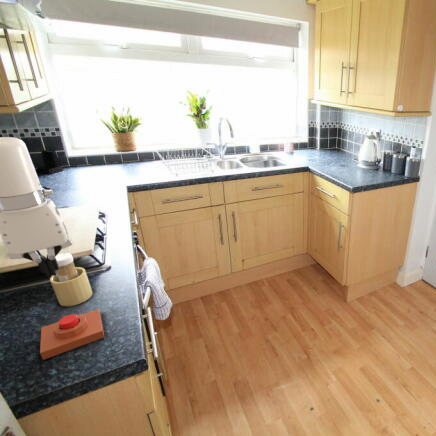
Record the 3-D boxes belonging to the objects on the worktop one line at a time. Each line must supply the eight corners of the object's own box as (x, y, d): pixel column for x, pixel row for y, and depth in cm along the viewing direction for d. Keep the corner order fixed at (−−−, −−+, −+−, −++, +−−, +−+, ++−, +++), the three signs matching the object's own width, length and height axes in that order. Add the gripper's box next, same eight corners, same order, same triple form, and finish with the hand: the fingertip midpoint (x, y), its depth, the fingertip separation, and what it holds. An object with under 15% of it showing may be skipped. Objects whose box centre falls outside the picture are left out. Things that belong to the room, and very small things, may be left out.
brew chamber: (59, 310, 89) (49, 286, 86) (59, 295, 95) (50, 272, 91) (93, 299, 94) (86, 276, 90) (91, 285, 99) (84, 264, 96)
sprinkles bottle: (87, 294, 94) (74, 255, 89) (70, 302, 91) (54, 262, 85) (80, 289, 97) (67, 250, 91) (63, 297, 93) (47, 257, 88)
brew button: (60, 332, 77) (58, 326, 76) (60, 323, 79) (58, 318, 79) (79, 325, 79) (77, 320, 78) (78, 317, 82) (76, 312, 81)
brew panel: (43, 360, 74) (37, 347, 72) (44, 334, 81) (39, 321, 79) (104, 337, 81) (100, 325, 79) (100, 315, 88) (96, 303, 86)
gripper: (66, 187, 72) (90, 256, 80) (-27, 201, 64) (10, 277, 72) (67, 197, 67) (92, 270, 75) (-35, 213, 59) (6, 294, 66)
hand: (52, 273), depth 73 cm, fingers closed
